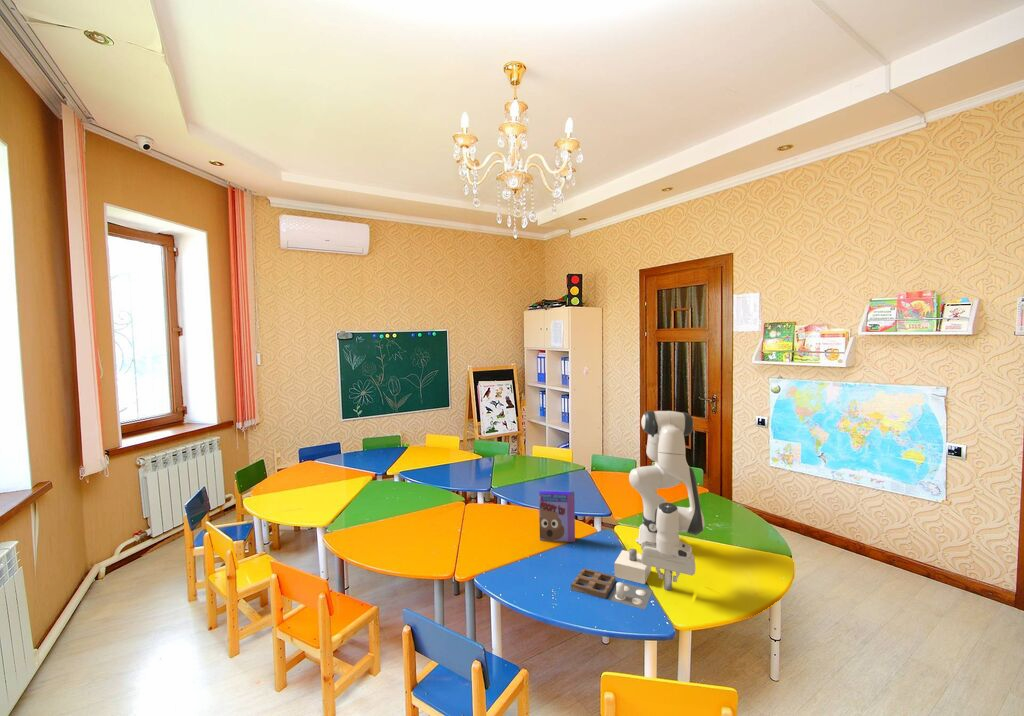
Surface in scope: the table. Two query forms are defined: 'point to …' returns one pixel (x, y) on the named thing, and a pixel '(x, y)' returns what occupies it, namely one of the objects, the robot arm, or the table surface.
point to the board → (631, 595)
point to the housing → (631, 567)
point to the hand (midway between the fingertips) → (667, 579)
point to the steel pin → (667, 580)
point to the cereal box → (557, 516)
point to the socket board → (593, 583)
